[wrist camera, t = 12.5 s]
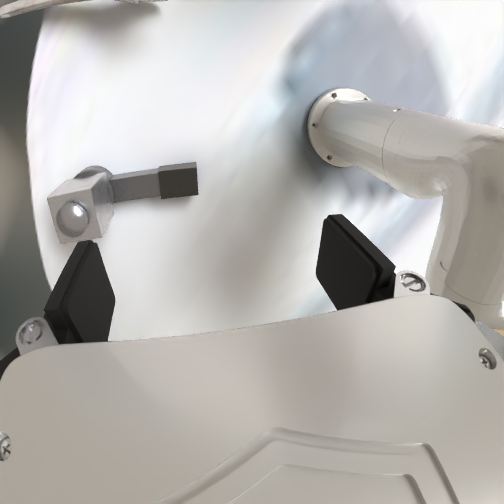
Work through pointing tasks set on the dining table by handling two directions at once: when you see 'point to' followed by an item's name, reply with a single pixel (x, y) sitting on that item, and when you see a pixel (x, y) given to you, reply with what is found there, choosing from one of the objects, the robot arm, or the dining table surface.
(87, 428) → the robot arm
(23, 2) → the wrench
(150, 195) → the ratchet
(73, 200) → the cube with metal dome
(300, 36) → the dining table surface
